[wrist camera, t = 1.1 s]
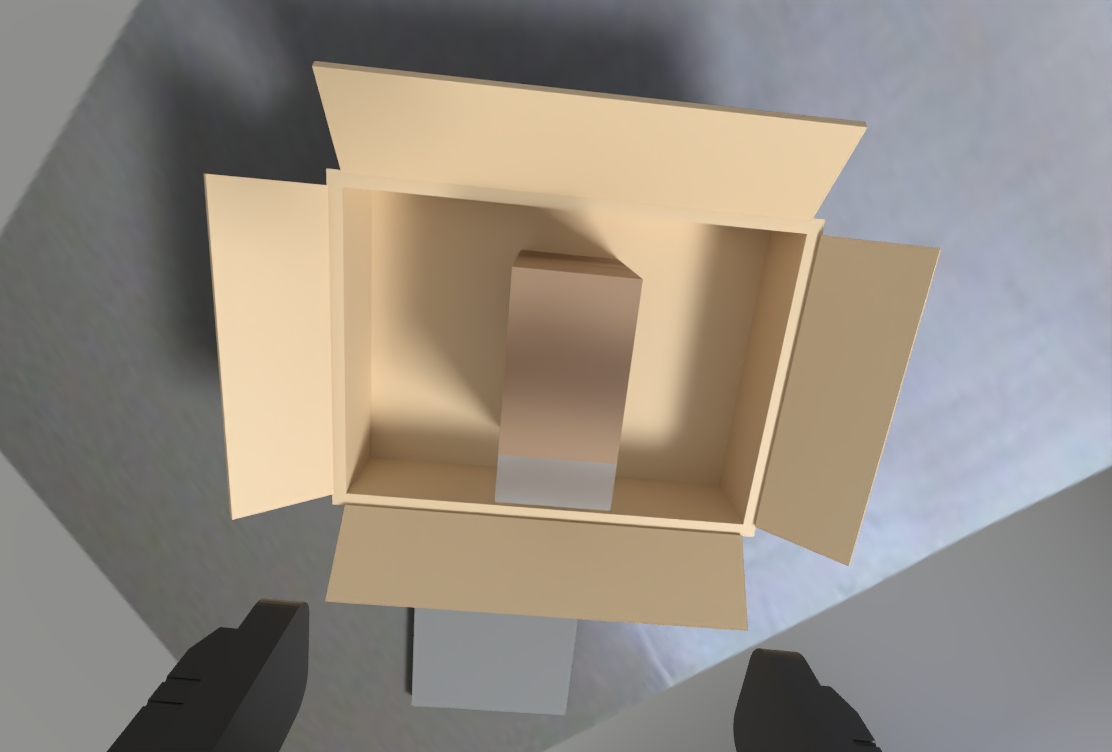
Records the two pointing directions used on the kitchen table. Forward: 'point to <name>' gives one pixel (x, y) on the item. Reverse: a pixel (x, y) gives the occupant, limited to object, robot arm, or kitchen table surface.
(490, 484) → the carton
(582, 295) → the tan rectangular block
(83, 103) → the kitchen table surface
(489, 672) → the mat
